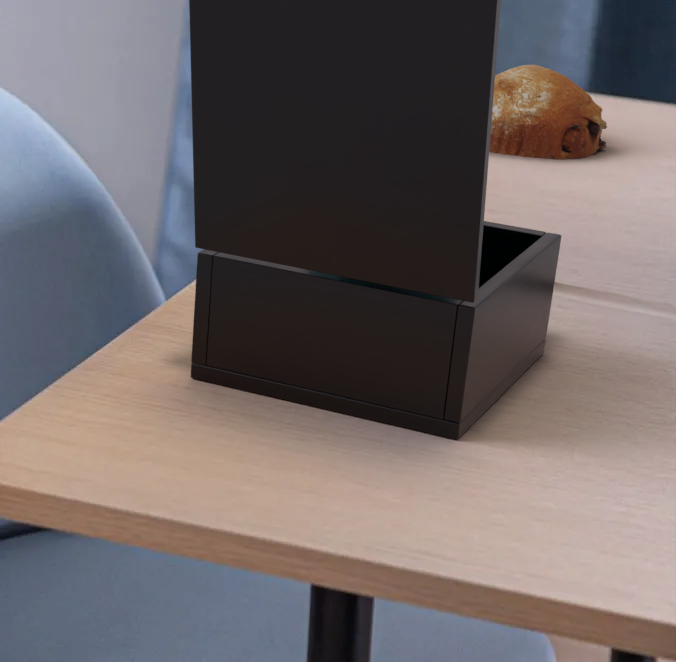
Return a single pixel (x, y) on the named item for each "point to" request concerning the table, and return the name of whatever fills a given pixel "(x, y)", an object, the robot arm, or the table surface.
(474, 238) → the chest lid
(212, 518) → the table surface
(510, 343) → the chest
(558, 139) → the bread roll
